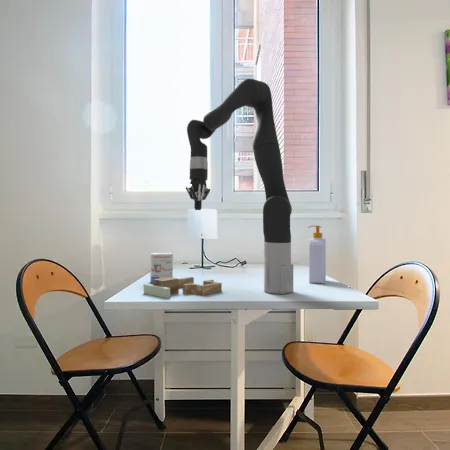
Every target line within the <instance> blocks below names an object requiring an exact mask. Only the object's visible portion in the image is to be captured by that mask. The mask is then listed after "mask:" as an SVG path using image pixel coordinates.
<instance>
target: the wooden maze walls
mask: <svg viewBox="0 0 450 450" xmlns="http://www.w3.org/2000/svg"><path fill="white" fill-rule="evenodd" d="M178 279H179V289H181V288H182V295H188V294H195V295H201V296H207V295H212V294H216V292H217V293H219V292H220V293H221V292H222V285H223V283H222V282H218V281H215V280H214V279H206V280H203V281H202V282H203V283H202V284H198V283H195V278H194V277H193V276H187V277H182V278H178Z"/></svg>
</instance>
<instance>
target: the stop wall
mask: <svg viewBox="0 0 450 450" xmlns="http://www.w3.org/2000/svg"><path fill="white" fill-rule="evenodd" d="M143 294H146V295H151V296H154V297H155V296H156V297H161V298H163V299H164V298H165V299H169V298H171V294H170V288H167V287H162V286H157V285H153V284H152V283H144V284H143Z"/></svg>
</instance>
